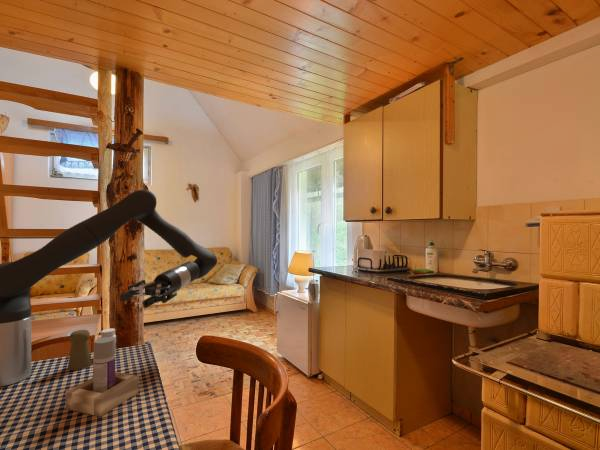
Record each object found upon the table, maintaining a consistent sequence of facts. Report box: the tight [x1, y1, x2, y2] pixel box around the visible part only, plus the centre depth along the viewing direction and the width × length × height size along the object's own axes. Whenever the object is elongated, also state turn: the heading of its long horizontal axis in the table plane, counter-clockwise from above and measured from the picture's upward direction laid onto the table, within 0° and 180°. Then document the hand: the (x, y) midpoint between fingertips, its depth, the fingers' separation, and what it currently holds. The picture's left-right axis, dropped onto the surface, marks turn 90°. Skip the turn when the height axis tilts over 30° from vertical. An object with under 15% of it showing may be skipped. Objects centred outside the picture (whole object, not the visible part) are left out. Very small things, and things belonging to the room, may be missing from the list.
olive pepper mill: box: [67, 329, 92, 371], centre depth 95 cm, size 6×6×11 cm
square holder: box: [64, 371, 140, 417], centre depth 77 cm, size 11×11×4 cm
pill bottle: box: [99, 327, 117, 355], centre depth 103 cm, size 5×5×8 cm
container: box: [92, 337, 116, 393], centre depth 77 cm, size 5×5×15 cm
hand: (132, 301), depth 87 cm, fingers open, 8 cm apart
